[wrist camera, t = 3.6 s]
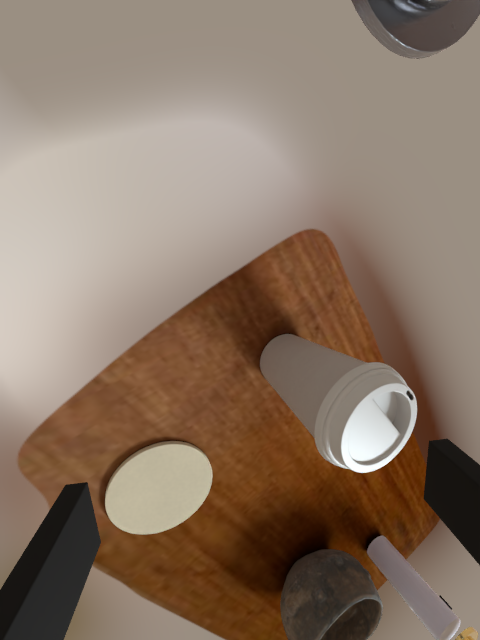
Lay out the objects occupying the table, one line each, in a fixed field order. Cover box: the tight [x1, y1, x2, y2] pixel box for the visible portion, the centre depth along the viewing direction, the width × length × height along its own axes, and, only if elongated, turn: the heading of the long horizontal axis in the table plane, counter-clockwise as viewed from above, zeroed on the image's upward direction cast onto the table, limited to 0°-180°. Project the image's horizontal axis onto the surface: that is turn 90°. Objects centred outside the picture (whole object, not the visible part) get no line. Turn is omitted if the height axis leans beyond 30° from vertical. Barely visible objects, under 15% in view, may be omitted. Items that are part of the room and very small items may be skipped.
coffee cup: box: [260, 334, 417, 473], centre depth 30 cm, size 10×10×15 cm
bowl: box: [280, 549, 383, 640], centre depth 45 cm, size 14×15×10 cm
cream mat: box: [105, 441, 212, 535], centre depth 35 cm, size 12×12×1 cm
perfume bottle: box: [367, 536, 478, 640], centre depth 47 cm, size 6×6×20 cm
